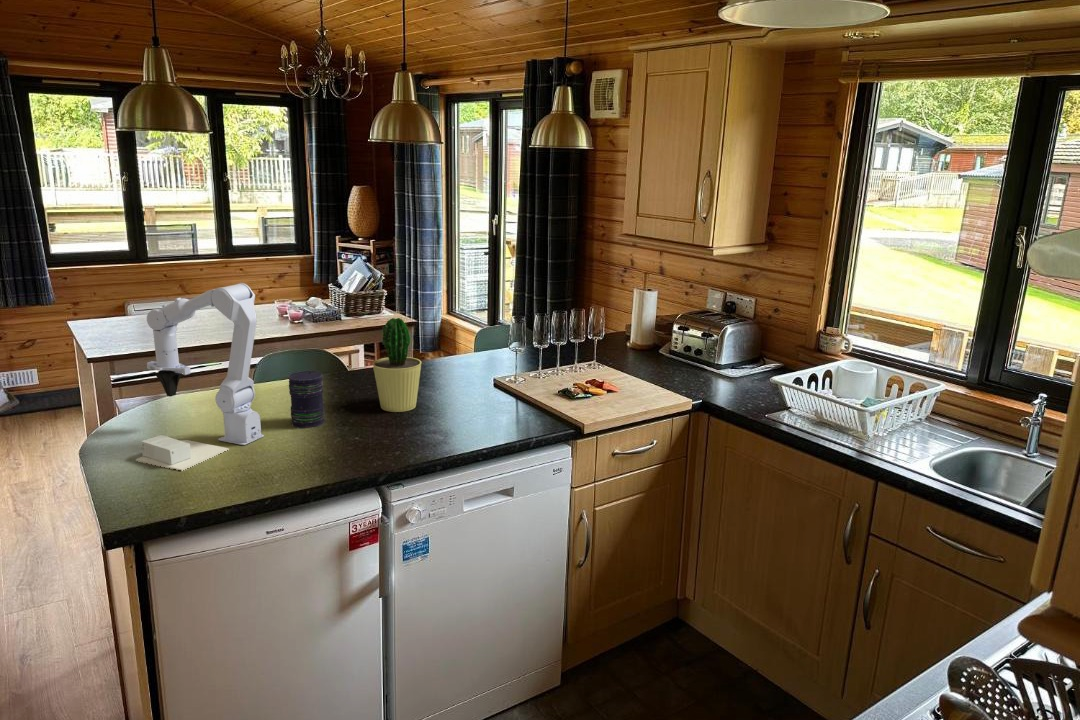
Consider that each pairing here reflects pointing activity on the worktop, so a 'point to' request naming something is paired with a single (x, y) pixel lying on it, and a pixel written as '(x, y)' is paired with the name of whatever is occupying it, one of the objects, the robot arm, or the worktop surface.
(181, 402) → the worktop surface
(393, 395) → the potted cactus
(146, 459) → the mat
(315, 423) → the storage jar
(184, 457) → the skincare box
